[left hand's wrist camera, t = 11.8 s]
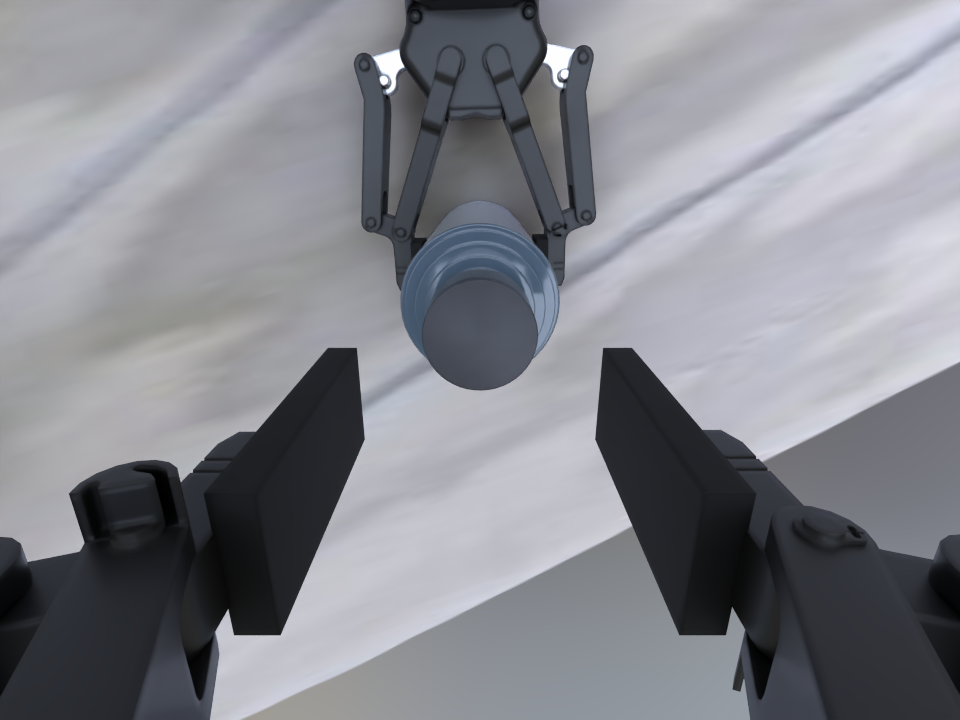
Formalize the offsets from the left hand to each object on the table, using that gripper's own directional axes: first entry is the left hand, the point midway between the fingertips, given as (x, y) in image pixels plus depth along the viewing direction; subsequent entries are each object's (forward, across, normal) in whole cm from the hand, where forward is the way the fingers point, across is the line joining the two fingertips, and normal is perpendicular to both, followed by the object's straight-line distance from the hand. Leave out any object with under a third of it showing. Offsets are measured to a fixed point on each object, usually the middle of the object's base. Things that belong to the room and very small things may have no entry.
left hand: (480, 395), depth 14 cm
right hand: (+22, 0, -5) cm, 22 cm away
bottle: (+28, 0, 0) cm, 28 cm away
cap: (+5, 0, 0) cm, 5 cm away
